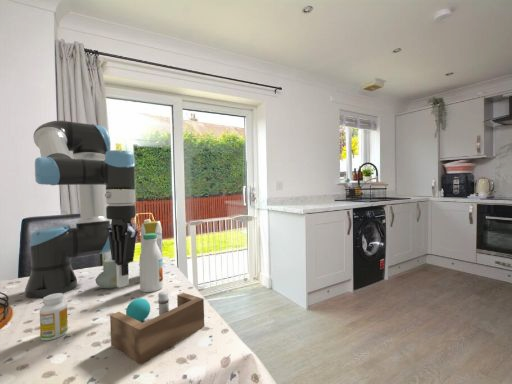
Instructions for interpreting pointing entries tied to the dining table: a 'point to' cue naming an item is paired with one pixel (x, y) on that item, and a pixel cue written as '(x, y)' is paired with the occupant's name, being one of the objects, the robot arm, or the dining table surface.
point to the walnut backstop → (156, 329)
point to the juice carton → (152, 228)
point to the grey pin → (163, 302)
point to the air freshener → (108, 275)
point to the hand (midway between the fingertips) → (122, 285)
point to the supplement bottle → (53, 317)
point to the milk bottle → (150, 265)
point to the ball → (138, 309)
